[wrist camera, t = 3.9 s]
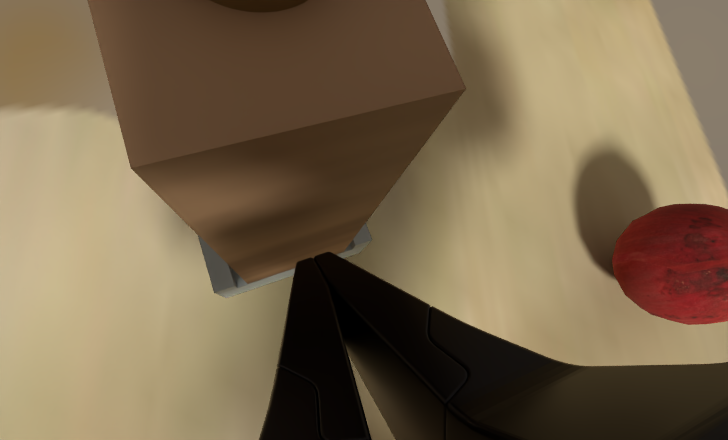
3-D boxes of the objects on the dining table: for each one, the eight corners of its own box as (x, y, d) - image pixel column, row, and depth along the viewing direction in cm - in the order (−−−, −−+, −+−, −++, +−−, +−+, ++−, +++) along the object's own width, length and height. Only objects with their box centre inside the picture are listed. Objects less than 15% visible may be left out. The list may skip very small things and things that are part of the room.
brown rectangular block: (343, 251, 15) (511, 28, 4) (247, 283, 14) (76, 113, 3) (304, 140, 16) (340, -312, 5) (211, 163, 15) (-31, -341, 4)
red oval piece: (613, 342, 21) (798, 353, 13) (560, 247, 22) (704, 206, 14) (683, 297, 22) (883, 283, 15) (631, 210, 23) (794, 156, 16)
